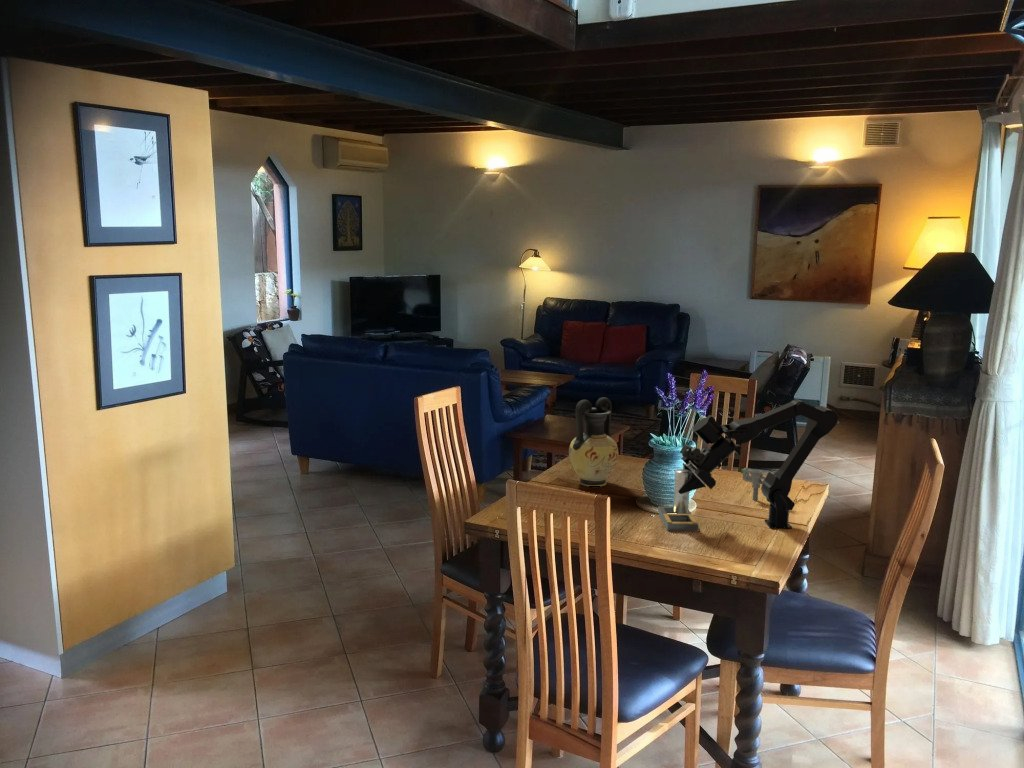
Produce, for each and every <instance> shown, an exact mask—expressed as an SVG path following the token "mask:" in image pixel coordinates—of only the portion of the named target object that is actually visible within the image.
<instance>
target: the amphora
mask: <svg viewBox="0 0 1024 768" xmlns="http://www.w3.org/2000/svg"><path fill="white" fill-rule="evenodd" d="M612 408H613V405H612V401H611V400H610V399H609V398H608V397H604V396H603V397H599V398H598V399H597V400H596V401H595V407H593V405H592V403H591V401H590V400H588V399H581V400H579V401H578V402H577V404H576V406H575V426H576V436H575V437H574V438H573V439H572V441H571V442H570V445H569V448H568V457H569V462H570V464H571V467H572V469H573V471H574V472H575V473H576V475H577V476H578V477H579V484H580V485H582V486H585V487H589V486H600V487H604V486H606V485H607V482H608V481H606V479H607V478H608V477H609V476H610V475H611V474H612V472H613V471H614V469H615V467H616V466H617V463H618V459H619V447H618V444H617V442H616V441H615V439H614V438H612V436H611V420H612ZM584 424H585V425H584ZM584 426H585V427H584Z"/></svg>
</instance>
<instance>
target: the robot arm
mask: <svg viewBox="0 0 1024 768" xmlns="http://www.w3.org/2000/svg"><path fill="white" fill-rule="evenodd" d="M798 416H802V417H805V418H807V420H806V424H805V429H804V432H803V433H802V435H801V436H800V438H799V439H798V441H797V442H796V443H795V444H794V446H793V448H792V450H791V451H790V453H789V454H788V455H787V457H786V458H785V460H784V461H783V463H782V464H781V466H780V467H779V468H778V470H777V471H775V472H773V473H772V472H771V471H768V472H767V474H766V475H765V477H766V478H765V479H762V480H761V481H762V483H763V484H761V485H760V490H761V493H762V495H763V496H764V498H766V501H767V502H768V503H769V509H768V510H769V511H768V519H764V523H765V525H767V526H768V527H769V528H770V529H781V530H784V529H790V530H791V529H793V526H792V525H791V524H790V523H789V519H790V511H793V509H794V507H795V502H794V501H793V500H792V498H790V497H789V494H790V492H791V489H792V485H793V479H794V478H795V476H796V475H797V473H798V472H799V471H800V469H801V467H802V466H803V464H804V463H805V462H806V461H807V459H808V457H809V455H810V454H811V453H812V451H813V449H814V448H815V447H816V445H817V444H818V443H819V440H821V439H822V438H824V437H826V436H827V435H828V434H830V433H831V431H832V430H834V429H835V427H836V426H837V425H838V422H839V417H838V415H837V413H836V412H835V411H833V410H832V409H830V408H828V407H826V406H823V405H818V406H814V405H812V404H809V403H807V402H804V401H802V400H801V399H796V398H795V399H792V400H791V401H790V402H787V403H785V404H783V405H780V406H778V407H776V408H773V409H771V410H768V411H766V412H764V413H761V414H760V415H759V414H758V415H757V416H753V417H744V418H739V419H737V420H733V421H732V422H730V423H728V424H719V423H718V422H717V421H716V419H715V418H714V417H713V416H712V414H709V415H707V416H706V417H704V418H702V419H699V420H697V422H696V423H695V424H694V426H693V428H692V431H693V432H694V433H695V434H696V435H697V436H698V437H699V438H700V439H701V440H702V441H703V442H704V443H705V445H708V444H711V445H710V446H709V447H708V448H705V447H703V448H702V449H700V448H697V447H696V446H691V445H689V444H687V443H683V445H682V447H681V450H680V451H679V453H680V454H681V456H682V457H680V458H681V460H682V461H683V462H682V469H686V470H689V471H690V477H689V479H688V480H687V481H686V482H685V483H684V485H683V486H682V487H681V488H680V490H679V491H678V492H679V493H680V494H683V493H686V492H689V493H690V492H692V491H695V490H698V489H702V488H706V487H708V488H709V489H710V490H712V489H714V488H715V486H717V485H716V483H717V480H716V479H715V478H714V477H713V475H712V472H713V471H715V469H717V467H719V468H721V467H722V466H723V465H722V463H723V462H724V461H725V460H726V459H728V457H730V455H732V454H733V452H735V453H736V454H737V455H738V456H741V455H742V452H741V451H742V446H741V445H740V444H747V443H749V442H750V441H752V440H754V439H756V437H758V436H759V435H760V434H761V432H764V431H765V430H767V429H771V428H772V427H774V426H777V425H779V424H782V423H784V422H786V421H787V422H788V421H789V420H791V419H793V418H796V417H798ZM723 435H725V436H726V437H727V438H726V437H725V436H723ZM732 439H733V440H732ZM734 440H735V441H736V442H737V443H738V444H736V443H735V442H734ZM674 487H675V485H674Z"/></svg>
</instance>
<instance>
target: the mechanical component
mask: <svg viewBox="0 0 1024 768" xmlns="http://www.w3.org/2000/svg"><path fill="white" fill-rule="evenodd" d="M740 474H742V479H743V481H745V482H749V483H752V485H751V487H752V501H753V500H756V501H758V499H759V488H760V489H761V485H762V484H763V483H762V481H763V480H764V479H765V478H766V475H763V471H762V470H760V469H756V468H755V469H754V468H751V467H750V468H749V467H744V468H741V469H740Z"/></svg>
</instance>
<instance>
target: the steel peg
mask: <svg viewBox="0 0 1024 768" xmlns="http://www.w3.org/2000/svg"><path fill="white" fill-rule="evenodd" d="M689 477H690V471H689V470H686V469H683V468H679V469H678V468H677V469H675V472H674V486H675V487H674V489H673V506H672V507H673V512H675V513H677V514H687V513H688V509H689V507H690V491H689V492H686V493H683V494H680V493H679V492H678V491H679V490H680V488H681V487H682V486H683V485H684V483H685V482H686V481H687V480H688V479H689Z"/></svg>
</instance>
